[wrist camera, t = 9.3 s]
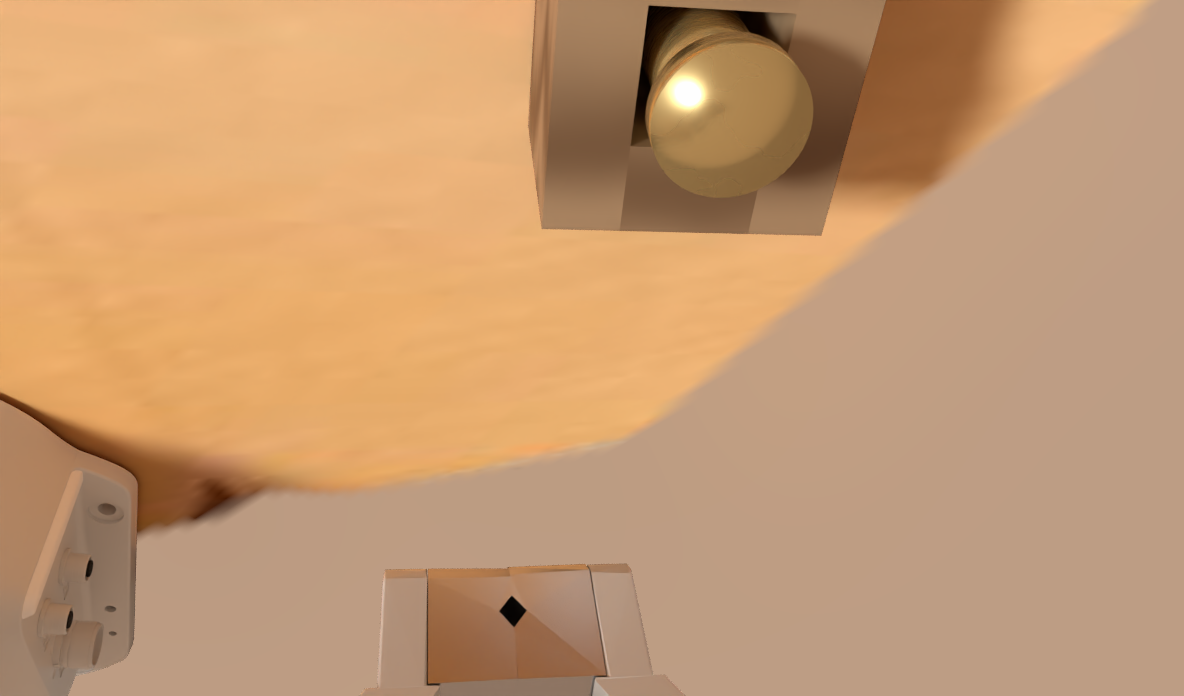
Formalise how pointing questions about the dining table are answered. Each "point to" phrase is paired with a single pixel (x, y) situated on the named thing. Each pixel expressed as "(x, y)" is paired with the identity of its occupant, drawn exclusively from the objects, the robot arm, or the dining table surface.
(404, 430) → the dining table surface
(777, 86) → the brass plug
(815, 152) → the socket block
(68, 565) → the robot arm
